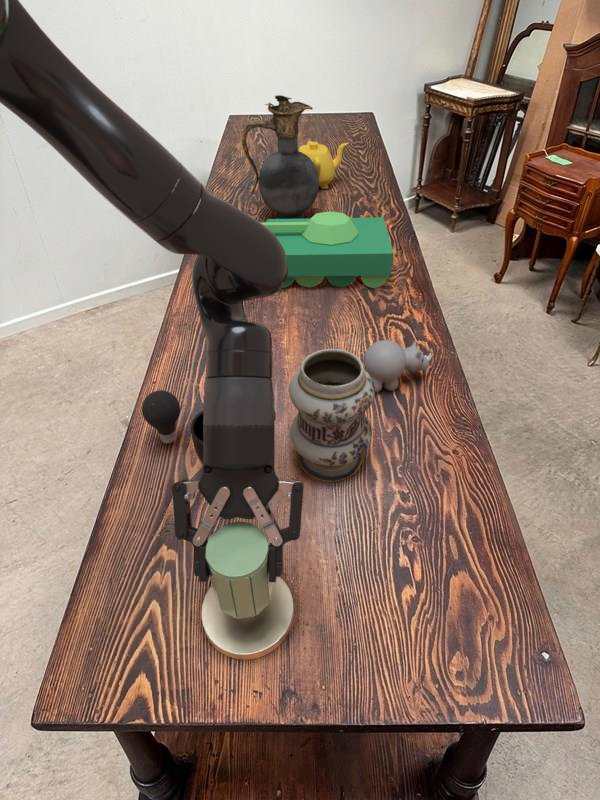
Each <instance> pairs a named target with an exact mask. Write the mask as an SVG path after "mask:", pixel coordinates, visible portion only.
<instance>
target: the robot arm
mask: <svg viewBox="0 0 600 800" xmlns="http://www.w3.org/2000/svg"><path fill="white" fill-rule="evenodd" d="M0 104H1V105H3V106H4V107H5V108H6V109H8V110H9V111H10V112H12V114H14V115H16V116H17V117H18V118H19V119H20V120H21V121H22V122H24V123H25V124H26V125H28V127H30V128H31V129H32V130H33V131H34V132H35V133H36V134H37V135H39V136H40V137H41V138H42V139H43V140H44V141H45V142H47V143H48V144H49V145H50V146H51V147H52V148H53V149H54V150H55V151H56V153H58V154H59V155H60V156H61V157H62V158H63V159H64V160H65V161H66V162H67V163H68V164H69V165H70V166H71V167H72V168H73V169H74V170H75V171H76V172H77V173H78V174H79V176H81V177H82V178H83V179H84V180H85V181H86V182H87V183H88V184H89V185H91V187H92V188H93V189H94V190H95V191H96V192H98V193H99V195H101V196H102V197H103V198H104V200H106V201H107V202H108V203H109V204H111V206H113V207H114V208H115V209H116V210H117V211H118V212H119V213H121V215H123V216H124V217H125V218H126V219H127V220H128V221H130V222H131V223H132V224H134V225H135V226H136V227H137V228H139V229H140V230H141V231H142V232H143V233H144V234H146V236H148V237H149V238H150V239H152V240H153V241H154V242H156V243H157V244H158V245H159V246H160V247H162V248H164V249H165V250H167V251H168V252H170V253H173V254H175V255H176V254H177V255H195V257H194V260H193V264H192V268H191V284H192V290H193V295H194V300H195V304H196V307H197V311H198V315H199V319H200V323H201V327H202V330H203V333H204V338H205V342H206V346H205V347H206V348H205V353H206V354H205V378H206V379H205V388H204V393H203V407H202V409H203V410H202V411H203V465H202V474H201V476H200V478H199V479H198V480H187V479H180V480H177V481H176V482H174V483H173V484H172V486H171V494H172V507H173V519H174V520H173V521H174V522H173V523H174V533H175V537H176V539H177V540H178V541H179V540H180V541H186V542H188V543H190V544H191V545H192V547H193V559H192V560H193V562H192V563H193V564H192V565H193V568H192V569H193V575H194V576H195V577H198V578H199V579H198V580H199V583H207V582H208V580H209V579H210V574H209V570H208V566H207V562H206V558H205V557H206V556H205V554H206V546H207V543H208V540H209V538H210V536H211V534H212V532H213V529H214V528H215V526H216V524H217V523H218V522H219V520H220V518H221V519H222V520H233V519H237V518H239V519H242V520H254V519H257V521H258V523H259V525H260V527H261V528H262V529H263V530H264V531H263V532H264V533H265V535H266V537H267V538H268V539H269V542H270V543H269V582H272V583H276V578H277V577H281V576H282V574H283V571H284V545H285V544H286V543H290V542H292V541H297V540H299V539H300V537H301V536H300V535H301V528H302V527H301V526H302V515H303V514H302V513H303V503H304V490H305V489H304V488H305V484H304V482H303V481H302V480H300V479H296V480H281V479H279V477H278V476H277V473H276V469H275V468H276V467H275V464H276V462H275V461H276V460H275V458H276V457H275V456H276V455H275V454H276V453H275V451H276V448H275V447H276V446H275V445H276V444H275V442H276V441H275V439H276V438H275V437H276V436H275V435H276V434H275V432H276V431H275V428H276V427H275V426H276V425H275V424H276V422H275V421H276V410H275V408H276V407H275V393H274V386H273V340H272V334H271V331H270V329H268V327H267V326H265V325H264V324H262V323H258V322H254V321H248V319H247V315H246V313H245V309H244V308H245V307H244V302H248V301H252V300H253V301H254V300H259V299H263V298H267V297H270V296H272V295H274V294H276V293H278V292H279V291H280V290H281V289H283V288H282V286H283V285H284V283H285V281H286V279H287V275H288V260H287V257H286V253H285V251H284V249H283V247H282V245H281V243H280V242H279V240H278V239H277V237H276V236H275V235H274V234H273V233H272V232H271V231H270V230H269V229H268V228H267V227H265V226H264V225H263V224H262V223H263V222H260V221H259V220H257V219H255V218H254V217H252V216H251V215H249V214H248V213H246V212H244V211H243V210H242V209H239V208H237V207H236V206H234V205H233V204H231V203H230V202H228V201H227V200H224V199H223V198H220V197H218V196H216V195H215V194H213V193H212V192H211V191H209V190H208V189H207V187H206V186H205V185H203V183H202V182H200V180H199V179H198V178H197V177H196V176H195V175H194V174H193V173H192V172H191V171H190V170H189V169H188V168H187V167H186V166H185V165H184V164H183V163H182V162H180V160H179V159H178V158H177V157H176V156H175V155H174V154H172V153H171V152H170V151H169V149H168V148H166V146H164V145H163V144H162V143H161V142H160V141H159V140H157V139H156V137H154V136H153V134H151V133H150V132H149V131H148V130H147V129H145V128H144V127H143V126H142V125H141V124H140V123H139V122H137V121H136V120H135V119H134V118H133V117H132V116H130V114H128V113H127V112H126V111H125V110H124V109H122V108H121V107H120V106H119V105H118V104H117V103H116V102H115V101H113V100H112V98H110V97H109V96H108V95H107V94H106V93H105V92H103V91H102V90H101V89H100V88H99V87H98V86H97V85H96V84H95V83H93V82H92V81H91V80H90V79H89V77H87V76H86V75H85V74H84V73H83V72H82V71H81V70H80V69H79V68H78V67H77V66H76V65H75V64H74V63H73V62H72V61H71V59H70V58H68V57H67V55H65V53H64V52H62V50H61V49H60V48H59V47H58V46H57V45H56V44H55V43H54V41H53V40H52V39H51V38H50V37H49V36H48V35H47V34H46V33H45V31H44V30H43V29H42V28H41V27H40V26H39V24H38V23H37V22H36V21H35V19H34V18H33V17H32V15H31V14H30V13H29V12H28V11H27V9H26V8H25V7H24V6H23V4H22V3H21V1H19V0H0ZM198 491H199V492H200V493H201V495H202V496H203V498H204V499H205V501H206V502H207V504H208V505H209V507H208V510H206V513H205V515H204V516H203V518H202V520H201V523H200V525H199V526H198V528H197V527H195V526H193V524H192V523H193V521H192V512H191V511H192V509H191V501H193V500H194V499H195V498H196V493H197V492H198ZM278 491H280V492H281V493H282V494H283V499H284V500H285V502H287V503H290V508H289V519H288V526H286V527H284V528H281V527H280V524H279V523H278V521H277V519H276V517H275V514H274V513H273V511H272V509H271V507H270V505H269V503H270V502H271V500H272V499H273V498H274V496H275V495H276V494H277V492H278ZM281 578H282V577H281Z"/></svg>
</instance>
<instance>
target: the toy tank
mask: <svg viewBox="0 0 600 800" xmlns="http://www.w3.org/2000/svg"><path fill="white" fill-rule="evenodd" d="M266 220H267V221H266V222H261V223H262V224H263V225H264V226H265V227H267V228H268V229H269V230H270V231H271V232H272V233H273V234H274V235H275V236H276V237H277V239H278V240H279V242H280V243H281V245H282V247H283V249H284V251H285V253H286V257H287V260H288V275H287V279H286V281H285V283H284V285H283V286H282V288H281V289H286V288H288V287H290V286H291V285H292V284H293V283H294V281H295V282H296V283H297V284H299V285H300V286H302V287H305V288H313V287H317V286H319V284H321V283H322V282H323V280H324V278H325V277H326V279H327V281H328V282H329V283H330V284H331V285H333V286H335V287H340V288H343V287H347V286H350V285H351V284H352V283H354V282H355V281H356V279H357V277H359V276H360V280H361V281H362V283H363V284H364V286H366V287H368V288H371V289H376V288H380V287H382V286H383V285H384V284H385V283H386V282H387V281H388V279H389V276H392V273H393V271H392V270H393V264H394V263H393V261H394V250H393V246H392V242H391V238H390V235H389V231H388V228H387V224H386V222H385V217H384V216H383V217H379V216H378V217H350V216H348V215H347V214H346V213H344V212H337V211H331V210H330V211H324V212H317V213H314V215H313V216H312V217H310V218H304V219H276V218H267V219H266Z"/></svg>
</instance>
